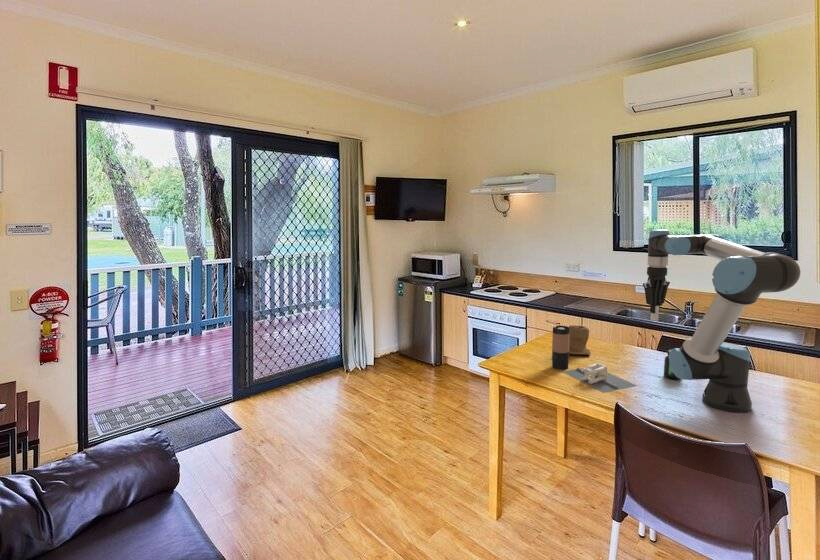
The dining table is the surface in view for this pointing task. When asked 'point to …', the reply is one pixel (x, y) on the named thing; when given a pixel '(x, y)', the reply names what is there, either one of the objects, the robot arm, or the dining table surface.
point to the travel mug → (560, 347)
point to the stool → (595, 373)
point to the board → (603, 385)
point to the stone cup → (578, 340)
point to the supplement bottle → (669, 369)
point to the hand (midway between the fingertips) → (654, 320)
